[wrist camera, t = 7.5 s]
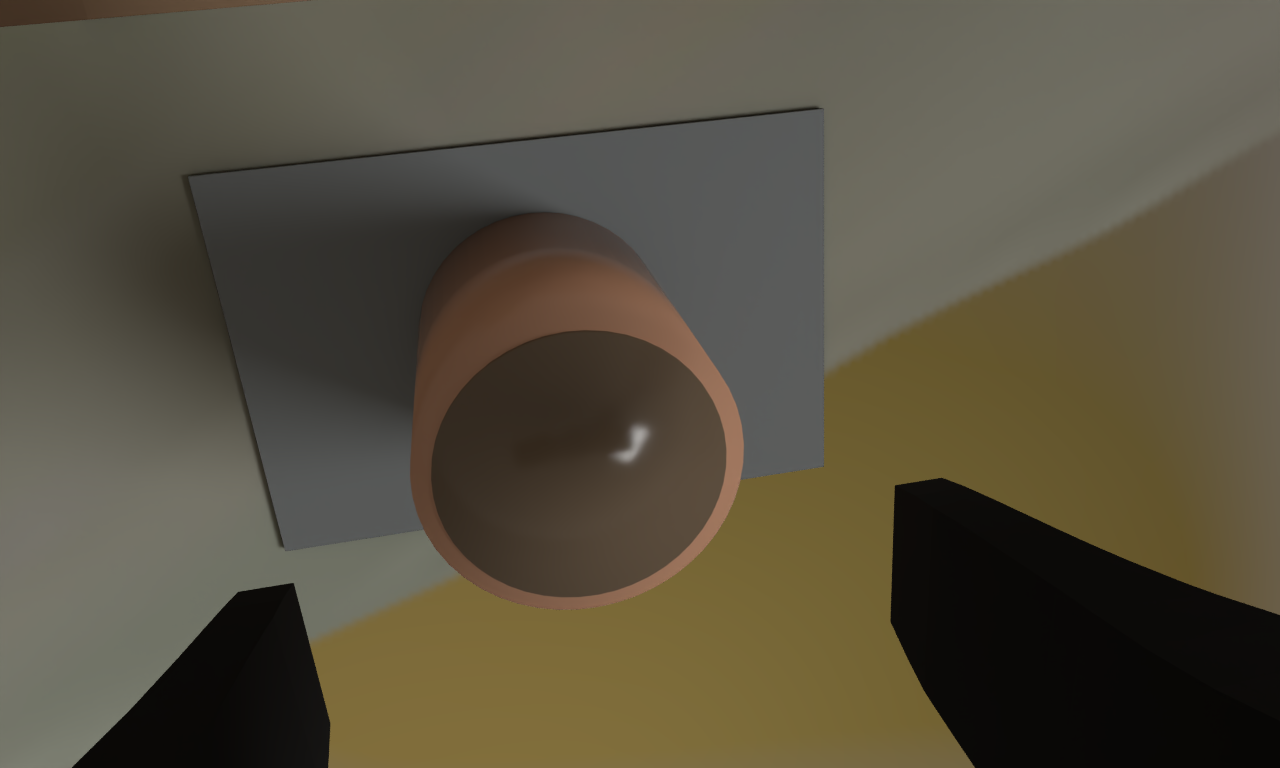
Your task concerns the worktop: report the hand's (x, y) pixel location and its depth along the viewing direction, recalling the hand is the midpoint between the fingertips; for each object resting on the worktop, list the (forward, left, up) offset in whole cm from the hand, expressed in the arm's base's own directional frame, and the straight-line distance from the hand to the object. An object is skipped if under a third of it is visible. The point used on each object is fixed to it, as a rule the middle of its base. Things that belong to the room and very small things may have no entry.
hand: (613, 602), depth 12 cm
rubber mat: (0, 0, -9) cm, 9 cm away
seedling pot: (0, 0, -9) cm, 9 cm away
